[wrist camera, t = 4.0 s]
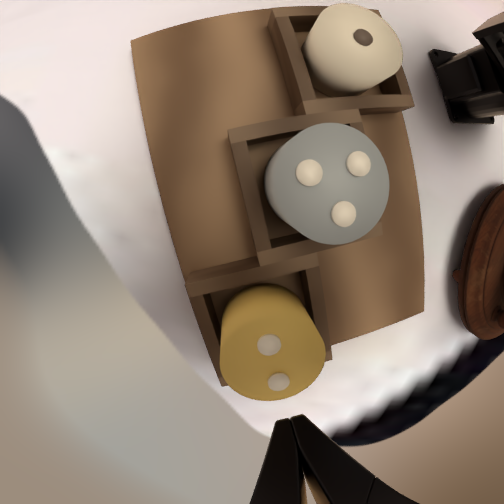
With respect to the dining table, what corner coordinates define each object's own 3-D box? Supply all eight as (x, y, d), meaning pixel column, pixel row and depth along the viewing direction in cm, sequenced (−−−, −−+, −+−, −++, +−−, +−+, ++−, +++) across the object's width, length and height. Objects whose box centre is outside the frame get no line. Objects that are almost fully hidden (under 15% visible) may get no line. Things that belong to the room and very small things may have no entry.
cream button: (357, 34, 13) (385, 6, 9) (379, 97, 15) (416, 79, 11) (289, 35, 13) (305, 0, 9) (310, 102, 15) (335, 78, 10)
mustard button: (297, 273, 15) (320, 304, 11) (310, 345, 16) (331, 388, 12) (211, 294, 15) (205, 332, 11) (234, 364, 16) (235, 411, 12)
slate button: (341, 132, 14) (378, 116, 10) (358, 218, 15) (398, 230, 11) (253, 147, 14) (262, 132, 10) (275, 238, 15) (291, 258, 11)
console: (357, 16, 14) (376, -6, 11) (415, 305, 20) (439, 323, 16) (135, 47, 14) (119, 25, 11) (218, 363, 20) (216, 393, 16)
